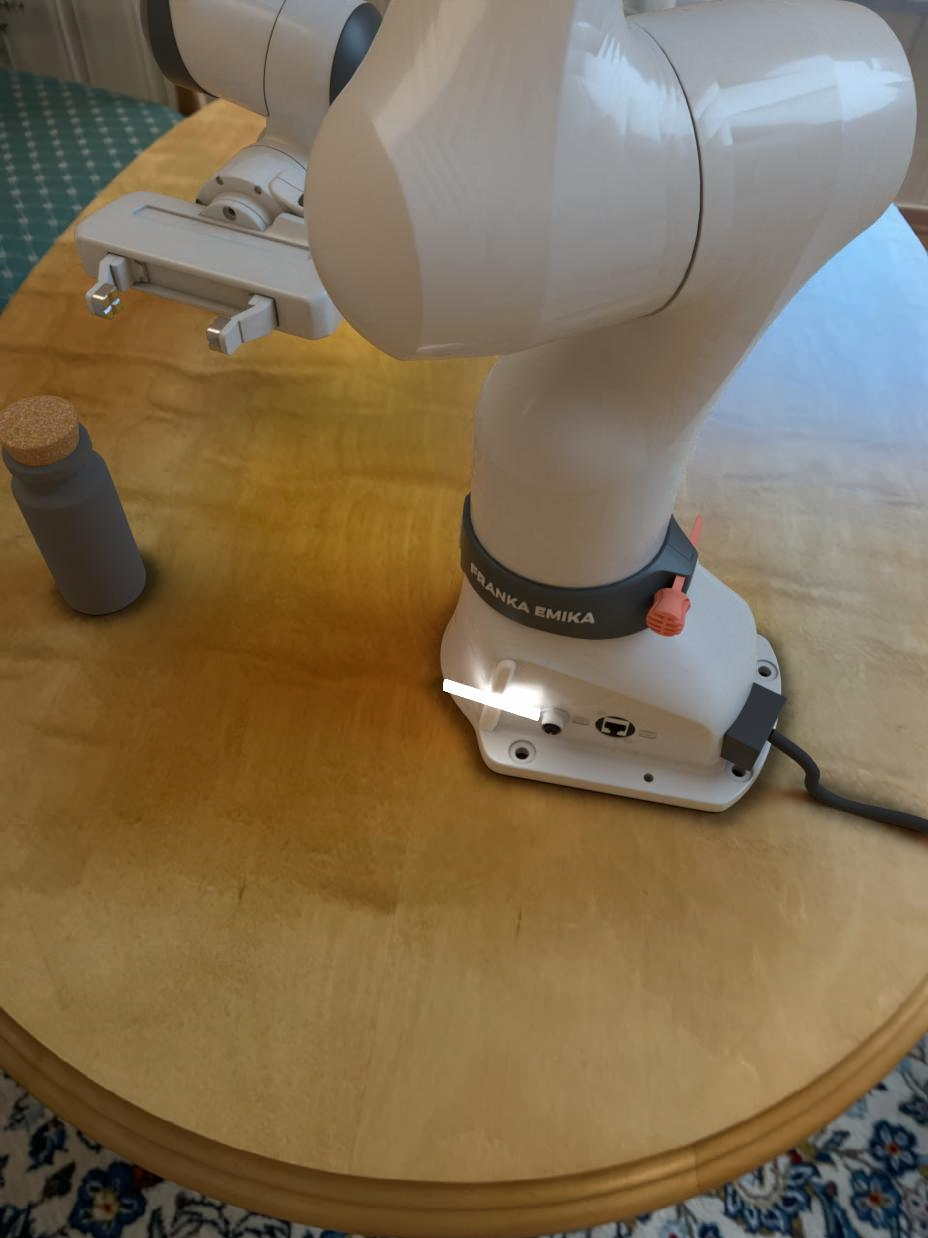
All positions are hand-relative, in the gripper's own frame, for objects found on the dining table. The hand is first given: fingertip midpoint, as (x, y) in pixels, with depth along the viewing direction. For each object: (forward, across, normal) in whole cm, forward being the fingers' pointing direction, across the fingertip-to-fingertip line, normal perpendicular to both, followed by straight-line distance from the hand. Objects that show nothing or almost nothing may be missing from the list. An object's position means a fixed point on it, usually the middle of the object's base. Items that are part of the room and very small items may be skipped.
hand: (155, 326), depth 65 cm
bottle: (+12, 0, +14) cm, 18 cm away
